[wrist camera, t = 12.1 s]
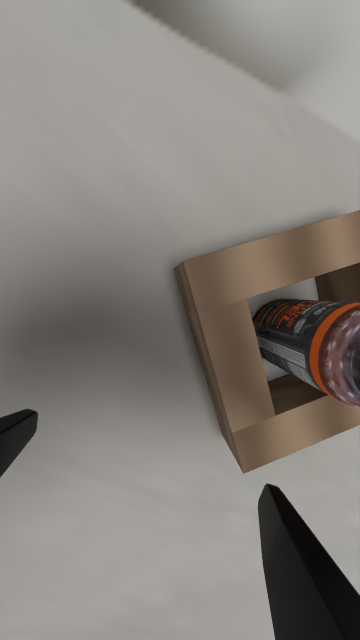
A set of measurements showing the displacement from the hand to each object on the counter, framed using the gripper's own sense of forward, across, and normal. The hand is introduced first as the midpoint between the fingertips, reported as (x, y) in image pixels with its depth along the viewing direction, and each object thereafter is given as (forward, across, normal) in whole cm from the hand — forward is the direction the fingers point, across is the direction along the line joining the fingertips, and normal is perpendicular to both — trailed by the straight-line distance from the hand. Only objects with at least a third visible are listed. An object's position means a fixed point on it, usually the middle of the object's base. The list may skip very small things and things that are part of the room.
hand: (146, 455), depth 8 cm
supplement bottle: (+14, -8, -4) cm, 17 cm away
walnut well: (+14, -8, -4) cm, 17 cm away
